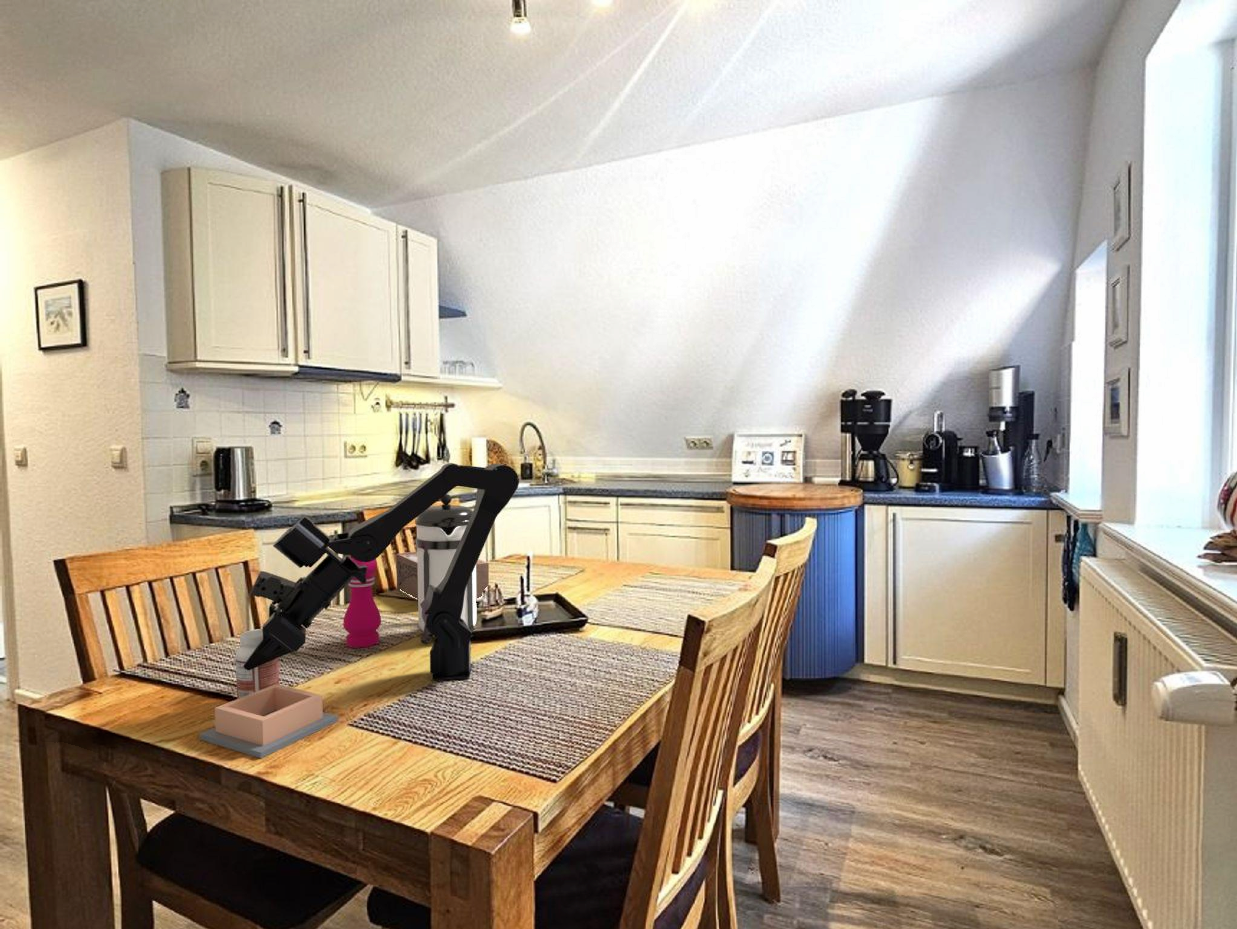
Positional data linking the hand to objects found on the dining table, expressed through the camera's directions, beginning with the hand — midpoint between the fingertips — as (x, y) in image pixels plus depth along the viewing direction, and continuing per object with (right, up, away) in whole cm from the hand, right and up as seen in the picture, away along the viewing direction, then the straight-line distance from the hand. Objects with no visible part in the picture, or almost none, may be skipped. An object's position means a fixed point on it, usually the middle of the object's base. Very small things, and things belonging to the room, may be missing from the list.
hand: (248, 659), depth 112 cm
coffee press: (+23, -5, +37) cm, 44 cm away
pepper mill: (+7, -5, +30) cm, 31 cm away
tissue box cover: (+13, -3, +70) cm, 71 cm away
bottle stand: (+9, -7, -10) cm, 15 cm away
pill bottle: (+1, -7, +1) cm, 7 cm away
